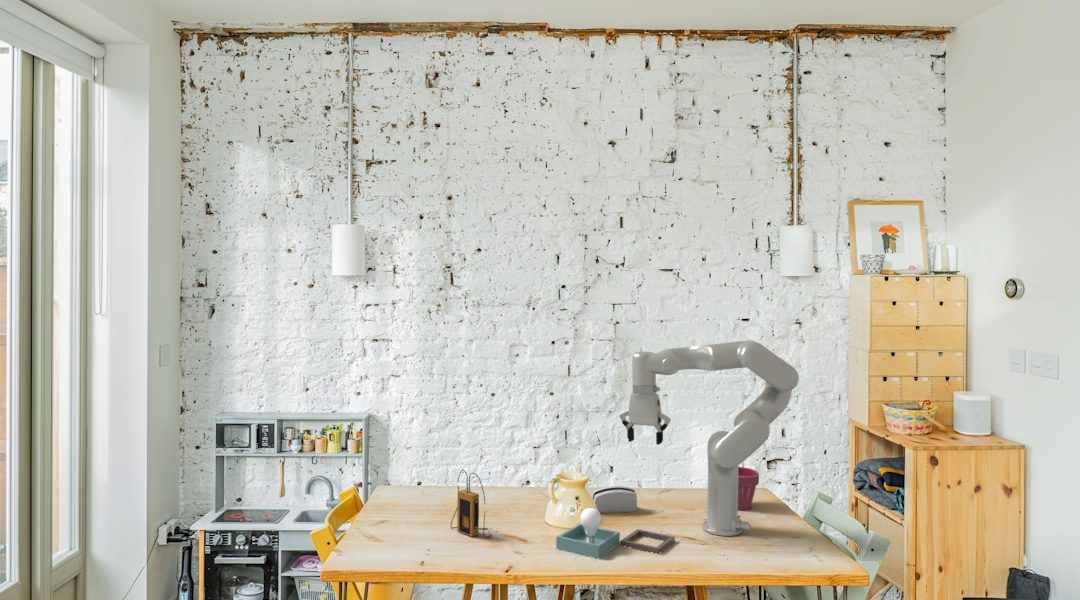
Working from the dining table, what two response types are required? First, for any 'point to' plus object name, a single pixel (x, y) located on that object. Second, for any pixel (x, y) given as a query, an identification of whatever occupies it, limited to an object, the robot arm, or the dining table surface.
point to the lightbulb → (590, 523)
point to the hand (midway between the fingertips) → (645, 442)
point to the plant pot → (746, 487)
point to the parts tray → (577, 542)
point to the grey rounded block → (615, 499)
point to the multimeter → (468, 511)
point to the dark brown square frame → (627, 542)
